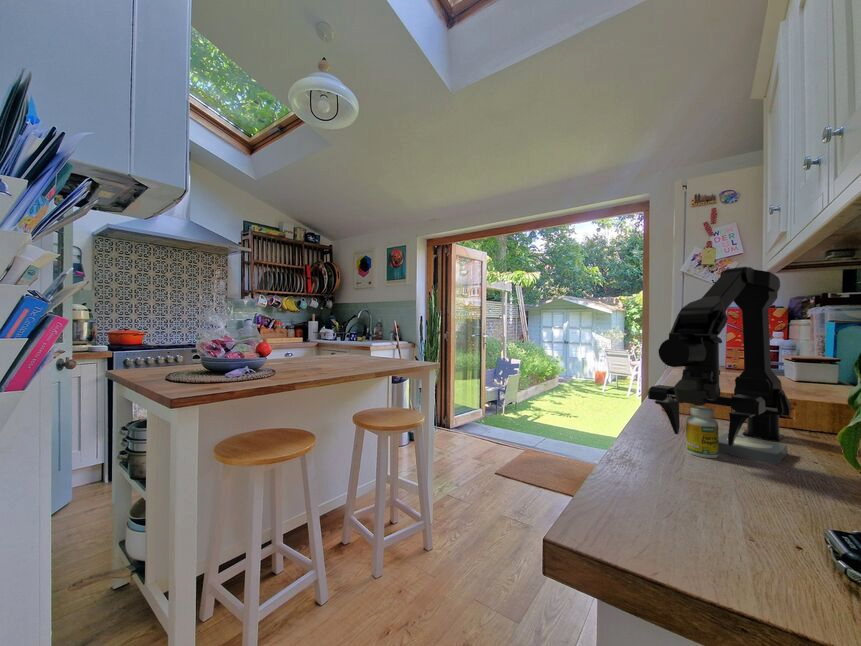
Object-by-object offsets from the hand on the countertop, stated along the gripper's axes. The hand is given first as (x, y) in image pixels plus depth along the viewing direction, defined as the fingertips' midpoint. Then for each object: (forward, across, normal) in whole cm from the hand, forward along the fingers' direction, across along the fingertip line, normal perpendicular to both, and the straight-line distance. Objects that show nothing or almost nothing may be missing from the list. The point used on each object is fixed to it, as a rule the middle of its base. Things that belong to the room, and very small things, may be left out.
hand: (702, 439), depth 73 cm
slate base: (+3, +6, +9) cm, 11 cm away
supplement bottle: (+3, 0, 0) cm, 3 cm away
